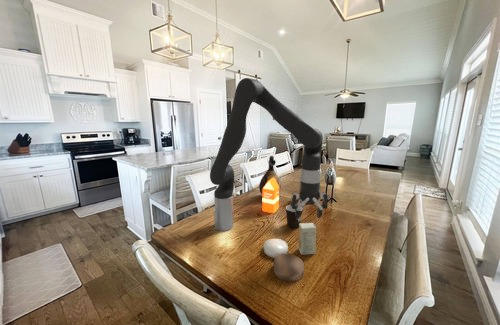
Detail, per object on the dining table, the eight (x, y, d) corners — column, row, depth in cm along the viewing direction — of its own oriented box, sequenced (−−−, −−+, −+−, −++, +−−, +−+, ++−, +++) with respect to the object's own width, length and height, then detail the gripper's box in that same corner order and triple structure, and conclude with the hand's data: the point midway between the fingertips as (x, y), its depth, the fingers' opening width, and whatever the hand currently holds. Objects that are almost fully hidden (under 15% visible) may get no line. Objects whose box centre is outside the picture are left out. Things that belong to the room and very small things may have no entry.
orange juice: (262, 211, 127) (262, 179, 123) (267, 205, 134) (268, 176, 130) (273, 213, 123) (274, 181, 119) (279, 208, 131) (279, 177, 127)
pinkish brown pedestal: (276, 282, 71) (276, 274, 71) (271, 260, 82) (272, 254, 81) (307, 281, 72) (307, 273, 71) (299, 260, 82) (299, 253, 82)
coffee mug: (289, 231, 104) (290, 212, 102) (282, 222, 112) (283, 205, 110) (310, 227, 107) (311, 209, 105) (301, 220, 115) (302, 203, 113)
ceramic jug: (282, 201, 141) (283, 158, 135) (259, 201, 141) (259, 158, 135) (279, 192, 157) (280, 154, 151) (258, 192, 158) (259, 154, 152)
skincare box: (312, 248, 90) (313, 222, 88) (315, 254, 86) (317, 227, 83) (297, 248, 90) (298, 222, 87) (300, 254, 86) (301, 228, 83)
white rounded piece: (265, 258, 84) (265, 252, 83) (263, 243, 93) (263, 238, 93) (289, 257, 84) (289, 252, 83) (285, 243, 94) (285, 238, 93)
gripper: (294, 183, 77) (293, 222, 81) (332, 182, 78) (329, 221, 81) (290, 177, 85) (289, 214, 88) (324, 176, 85) (322, 213, 88)
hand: (308, 217), depth 85 cm, fingers open, 8 cm apart
